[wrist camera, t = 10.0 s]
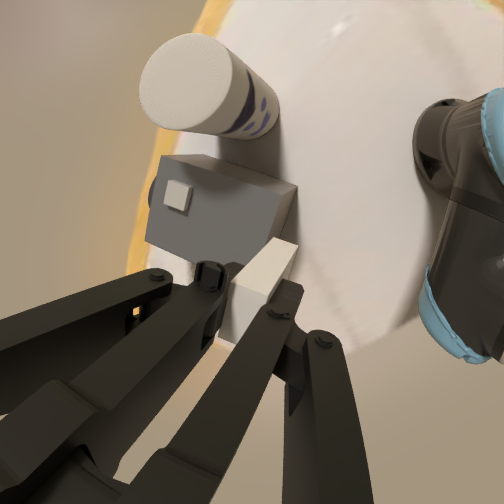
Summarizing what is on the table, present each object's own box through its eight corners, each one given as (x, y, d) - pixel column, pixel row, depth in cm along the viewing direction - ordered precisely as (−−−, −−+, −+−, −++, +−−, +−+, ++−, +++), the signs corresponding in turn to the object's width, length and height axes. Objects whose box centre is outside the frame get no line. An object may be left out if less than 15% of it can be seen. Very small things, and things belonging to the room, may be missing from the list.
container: (268, 147, 42) (212, 140, 24) (209, 131, 44) (127, 121, 26) (287, 86, 38) (245, 37, 20) (227, 73, 40) (154, 31, 22)
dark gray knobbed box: (297, 186, 43) (280, 196, 31) (272, 257, 47) (247, 291, 35) (189, 150, 46) (141, 151, 34) (173, 217, 50) (126, 236, 38)
